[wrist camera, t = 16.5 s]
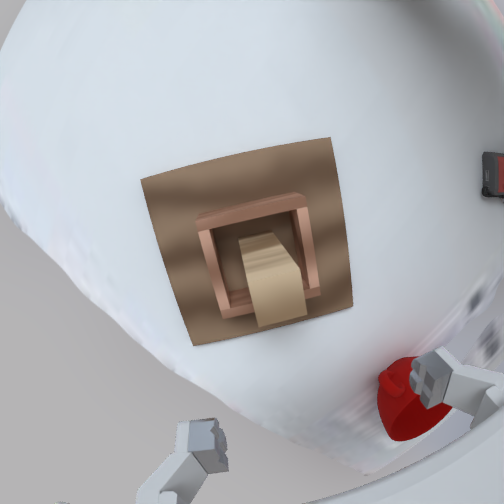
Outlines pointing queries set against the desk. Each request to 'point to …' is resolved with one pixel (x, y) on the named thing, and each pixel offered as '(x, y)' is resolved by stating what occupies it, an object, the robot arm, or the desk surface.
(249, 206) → the wooden peg socket board
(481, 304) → the desk surface
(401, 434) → the ceramic cup
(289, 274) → the wooden peg
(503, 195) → the walkie-talkie
